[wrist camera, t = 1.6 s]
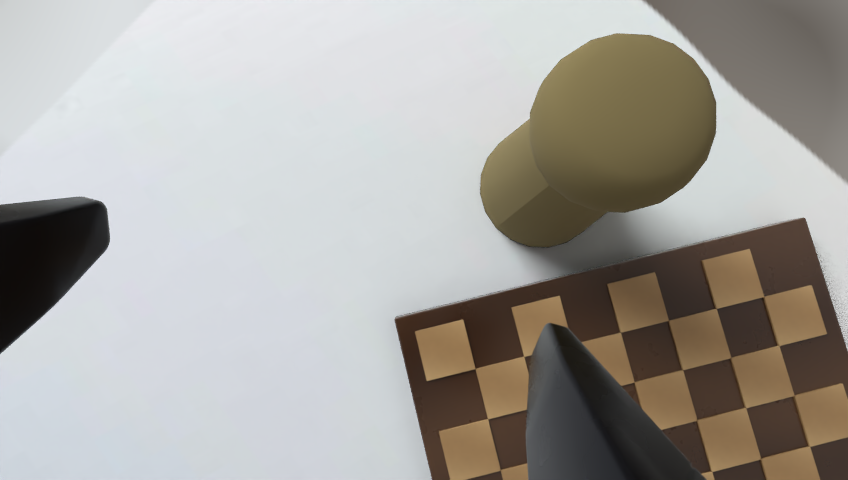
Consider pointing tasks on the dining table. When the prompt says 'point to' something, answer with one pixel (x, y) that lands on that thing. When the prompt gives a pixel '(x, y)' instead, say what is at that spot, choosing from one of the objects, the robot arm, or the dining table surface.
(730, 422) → the chessboard
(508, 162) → the chess pawn
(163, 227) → the dining table surface
